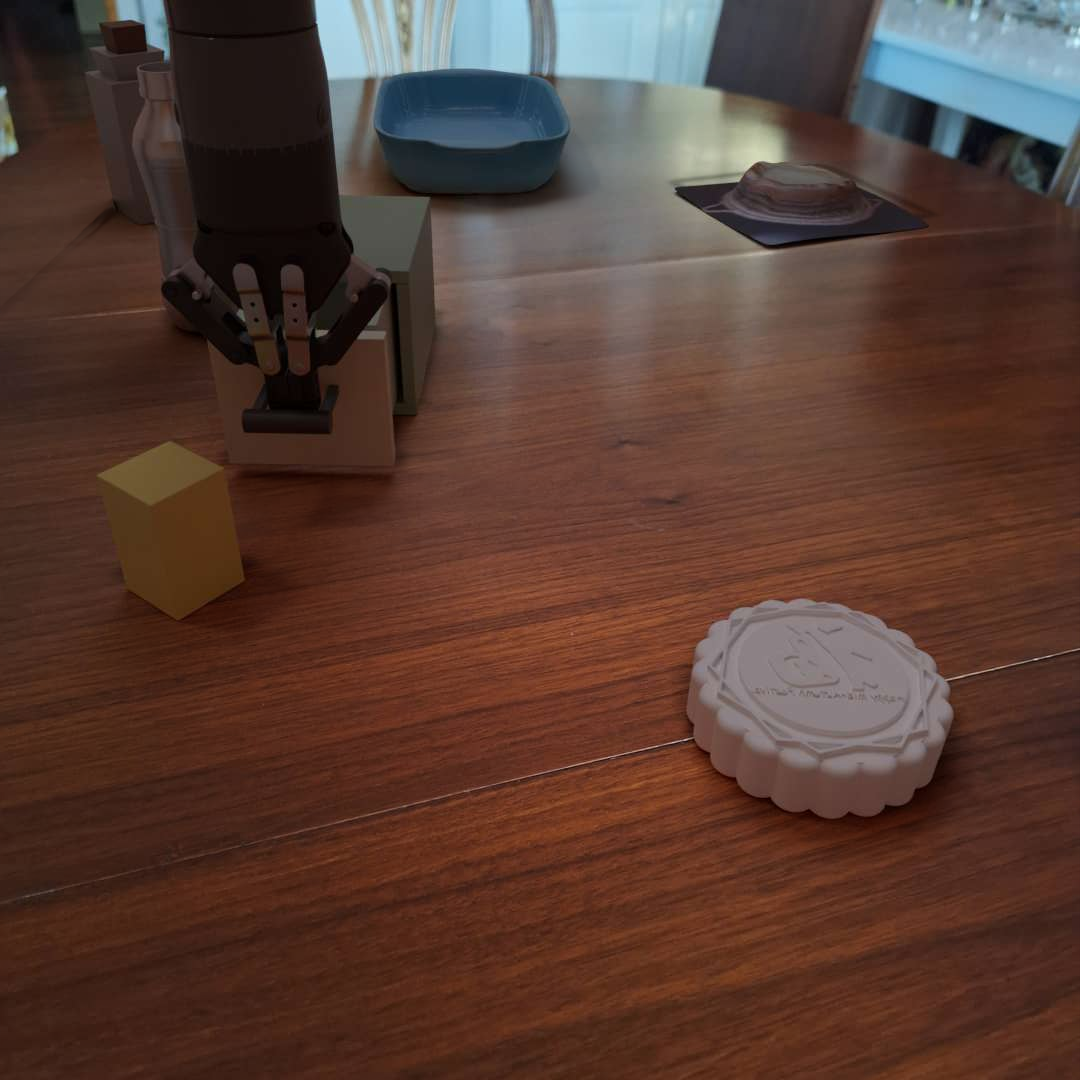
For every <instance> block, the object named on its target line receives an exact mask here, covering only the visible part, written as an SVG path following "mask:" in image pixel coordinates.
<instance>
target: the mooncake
mask: <svg viewBox="0 0 1080 1080" xmlns="http://www.w3.org/2000/svg"><path fill="white" fill-rule="evenodd" d="M937 672H938V667H937V663H936V661H935V660H934V658H933V657H932V655H930V654H928V653H927V652H925V651H923V650H921V649H919V648H916V644H915V642H914V640H913V639H912V638H911V636H910V635H908V634H907V633H905V632H904V631H901V630H898V629H893V628H888V626H887V625H886V623H885V622H884V621H883V620H882V619H880V618H879V617H877V616H876V615H872V614H870V613H869V614H868V613H864V612H863V611H862V610H861V611H860V610H852V609H851V608H849V607H848V606H845V605H843V604H841V603H833V602H832V603H831V602H830V603H828V602H827V601H820V602H816V601H814V600H811V599H808V598H796V599H793V600H790V601H789V602H784V601H781V600H776V599H769V600H764V601H762V602H760V603H759V604H757V605H754V606H753V607H748V606H744V607H739V608H736V609H735V610H733V611H732V612H730V614H729V616H728V618H727V619H721V620H718V621H716V622H714V623H713V624H711V625H710V626H709V628H708V630H707V636H706V638H704V639H702V640H701V641H699V642H698V643H697V644H696V646H695V649H694V656H693V662H692V668H691V675H690V681H689V687H688V694H687V695H688V696H687V701H686V702H687V703H686V715H687V718H688V719H689V721H690V722H691V723H692V724H693V733H692V736H693V739H694V742H695V744H696V745H697V746H698V747H699V748H700V749H702V750H703V751H705V752H707V753H709V759H710V763H711V765H712V766H713V768H714V769H715V770H716V771H717V772H719V773H720V774H721V775H723V776H725V777H730V778H736V783H737V784H738V787H740V789H741V790H742V791H743V792H744V793H746V794H748V795H749V796H752V797H755V798H761V799H765V798H770V800H771V801H772V802H773V803H774V804H775V805H776V806H777V807H778V808H780V809H782V810H784V811H786V812H790V813H801V812H805V811H807V810H810V811H811V812H812V813H813V814H815V815H817V816H818V817H821V818H824V819H828V820H835V819H840V818H842V817H844V816H846V815H847V814H848V813H851V814H853V815H855V816H858V817H865V818H869V817H873V816H876V815H878V814H880V813H882V811H883V810H884V809H885V806H889V807H900V806H903V805H905V804H907V803H908V802H910V801H911V800H912V798H913V796H914V794H915V790H916V789H921V788H924V787H926V786H927V785H928V784H929V783H930V782H931V780H932V779H933V777H934V773H935V770H936V767H937V765H938V761H939V760H940V757H941V754H942V752H943V750H944V749H943V748H944V746H945V743H946V740H947V738H948V736H949V735H948V734H949V731H950V729H951V726H952V723H953V720H954V716H955V715H954V710H953V707H952V705H951V704H950V703H949V699H950V696H951V687H950V685H949V682H948V681H947V680H946V679H945V678H944V677H943V676H941V675H940V674H938V673H937Z"/></svg>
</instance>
